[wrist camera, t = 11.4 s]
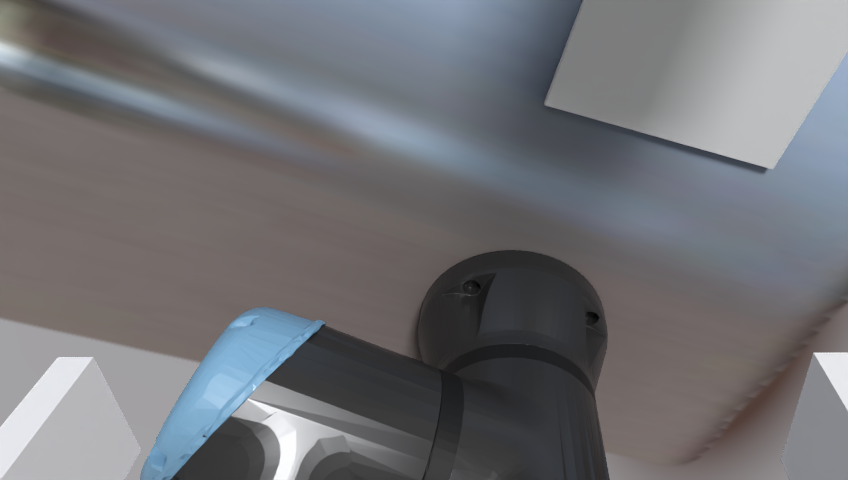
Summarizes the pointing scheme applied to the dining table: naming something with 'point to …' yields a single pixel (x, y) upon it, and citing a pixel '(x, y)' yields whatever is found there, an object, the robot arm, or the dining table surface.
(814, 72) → the mat
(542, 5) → the dining table surface
